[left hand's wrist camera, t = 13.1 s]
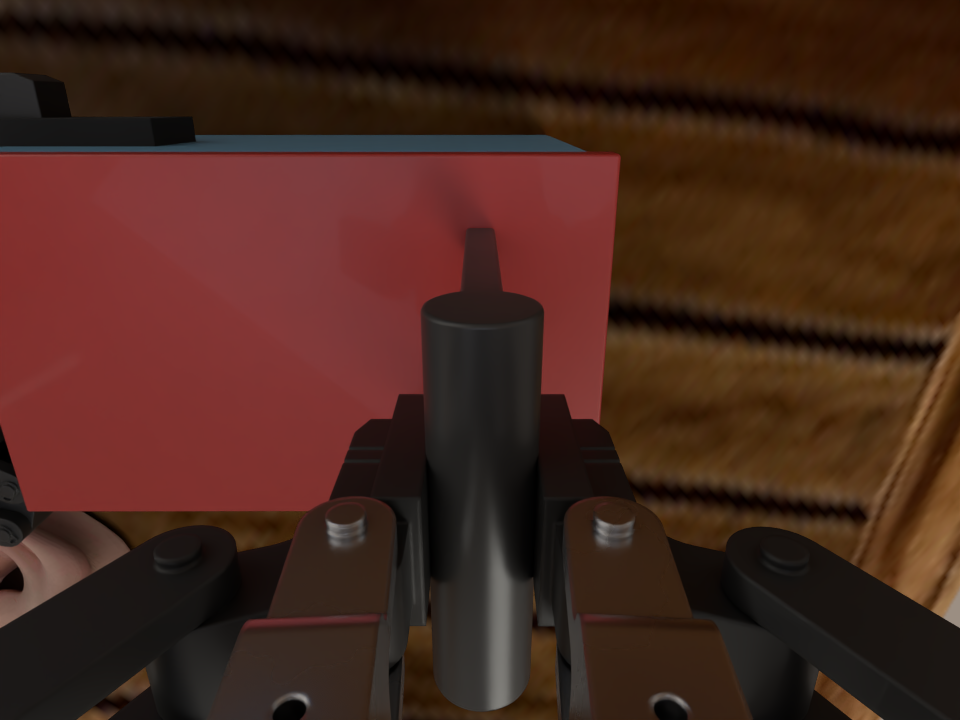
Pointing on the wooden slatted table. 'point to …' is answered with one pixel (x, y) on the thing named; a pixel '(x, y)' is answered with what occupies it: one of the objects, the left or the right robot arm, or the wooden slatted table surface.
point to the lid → (310, 344)
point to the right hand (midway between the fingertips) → (204, 304)
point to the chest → (335, 144)
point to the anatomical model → (53, 560)
